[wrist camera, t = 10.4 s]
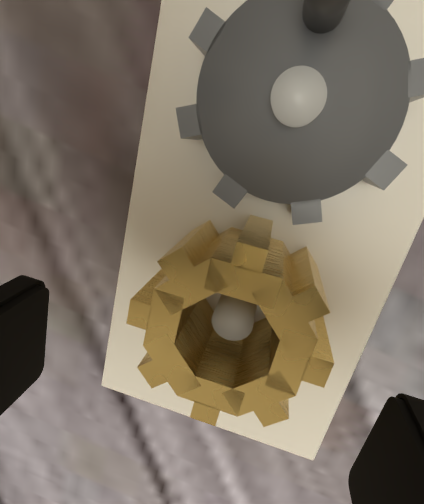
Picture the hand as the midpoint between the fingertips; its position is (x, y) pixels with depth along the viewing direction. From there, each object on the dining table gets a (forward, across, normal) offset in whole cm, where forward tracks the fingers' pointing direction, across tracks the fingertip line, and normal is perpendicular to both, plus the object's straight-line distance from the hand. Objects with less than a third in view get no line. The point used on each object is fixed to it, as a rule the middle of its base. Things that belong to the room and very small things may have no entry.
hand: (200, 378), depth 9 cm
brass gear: (+7, 0, 0) cm, 7 cm away
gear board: (+9, 0, -2) cm, 9 cm away
